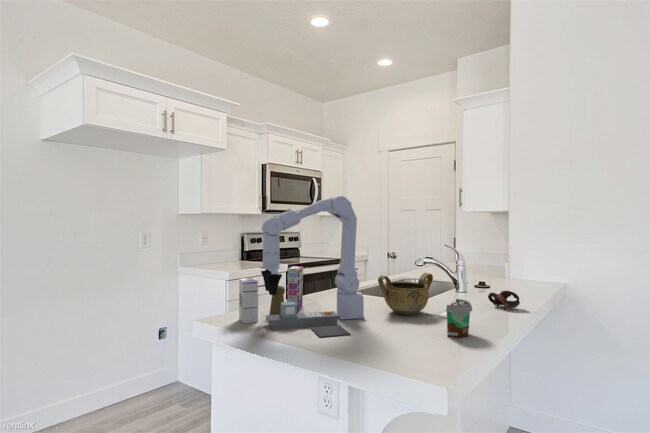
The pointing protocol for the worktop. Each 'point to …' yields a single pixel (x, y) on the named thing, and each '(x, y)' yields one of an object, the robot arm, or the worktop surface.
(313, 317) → the power strip
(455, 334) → the food container
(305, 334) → the worktop surface
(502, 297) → the dark brown looped piece
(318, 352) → the worktop surface
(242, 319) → the syrup box
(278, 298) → the tan rounded upright piece
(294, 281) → the candy bar box
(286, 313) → the block
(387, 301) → the ceramic bowl
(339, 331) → the mat
